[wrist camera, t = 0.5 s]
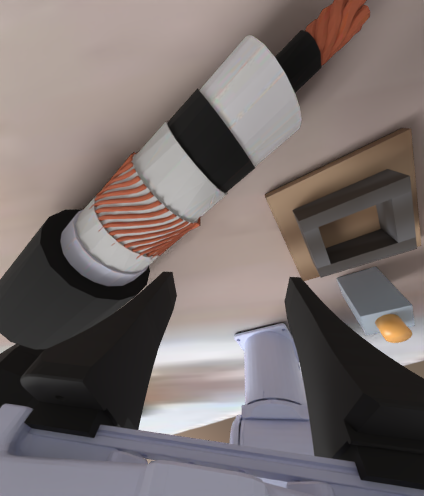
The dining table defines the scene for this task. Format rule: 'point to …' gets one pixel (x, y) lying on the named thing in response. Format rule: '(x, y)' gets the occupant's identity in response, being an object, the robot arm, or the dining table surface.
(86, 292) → the cable
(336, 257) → the holder
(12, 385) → the bottle
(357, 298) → the connector
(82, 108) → the dining table surface
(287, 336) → the robot arm
